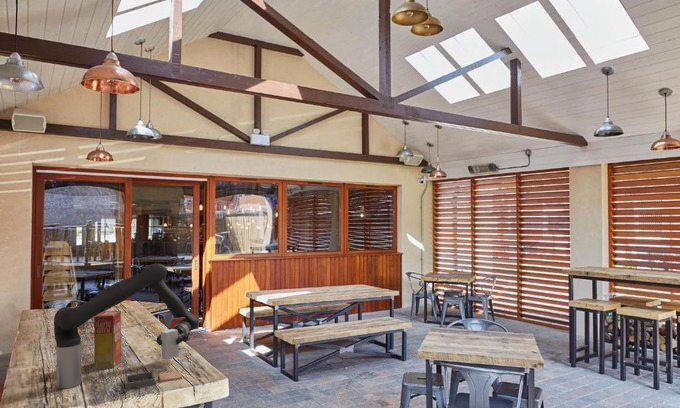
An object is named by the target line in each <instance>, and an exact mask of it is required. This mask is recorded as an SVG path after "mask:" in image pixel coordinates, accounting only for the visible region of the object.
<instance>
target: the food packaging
mask: <svg viewBox="0 0 680 408" xmlns="http://www.w3.org/2000/svg"><path fill="white" fill-rule="evenodd" d="M93 318H94V319H93V320H94V321H93V322H94V323H93V327H94V330H93V332H94V333H93V334H94V336H93V337H94V343H93V344H94V346H93V347H94V354H93V355H94V359H93V360H94V366H93V367H94V368H93V370H105V369H114V368H115V367H116V366H117V365H118V364H119V363H120V362H121V361H122V310H109V311H107V310H106V311H104V312H102V313H100V314H98V315H96V316H94V317H93Z"/></svg>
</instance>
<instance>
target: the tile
mask: <svg viewBox="0 0 680 408" xmlns="http://www.w3.org/2000/svg"><path fill="white" fill-rule="evenodd" d="M158 375H159V377H158V378H159V382H160V383H163V382H169V381H176V380H181V379H183V376H182V372H181V370H178V371H172V372H163V373H159V374H158Z"/></svg>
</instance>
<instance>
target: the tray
mask: <svg viewBox="0 0 680 408" xmlns="http://www.w3.org/2000/svg"><path fill="white" fill-rule="evenodd" d="M145 378H150V379H145ZM140 379H145V380H140ZM155 379H156V377H155V372H154V371H146V372H142V373H141V372H140V373H134V374H133V373H132V374H127V375H125V380H124V389H130V388H131V389H132V388H138V387H144V386H145V387H146V386H150V385H151V384H152V385H156V381H155ZM131 380H132V382H128V381H131ZM133 380H138V381H133Z"/></svg>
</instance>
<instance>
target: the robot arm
mask: <svg viewBox="0 0 680 408" xmlns="http://www.w3.org/2000/svg"><path fill="white" fill-rule="evenodd" d="M167 270H168V269H167V267H166V266H165V265H163V264H161V263H152V264H150V265H146V267H144V269H143V271H141V272H140V273H138V274H135V275H134V276H131V277H127V278H124V279H123V280H120V281H117V282H115V283H113V284H111V285H109V286H107V287H106V288H104V289H102V290H101V291H99V292H98V293H97V294H96V295H95V296H93V298H91V299H90V300H88V301H86V302H85V303H82V304H80V305H78V306H75V307H71V306H63V307H61V308H59V309H58V310H57V311H56V313H55V314H54V318H53V331H54V340H55V343H56V344H55V345H56V348H55V349H56V365H55V389H56V390H57V389H71V388H75V387H77V386H79V385H81V384H82V379H83V378H82V376H83V375H82V341H81V340H82V338H81V336H80V333H79V330H78V328H79V327H80V326H82V325H84V324H85V323H87V322H88V321H90V320H91V319H93V318H94V317H95V316H97V315H99V314H100V313H102V312H104V311H107V310H109V309H111V308H113V307H115V306H117V305H120V304H121V303H123V302H124V301H127V300H128V299H129V298H131V297H132V296H135V295H136V294H138V293H140V291H142V290H143V289H145V288H147V287H150V288H152V289H153V290H154V292H155V293H156V294H157V295H158V296H159V298H160V299H161V300H162V301H163V303H164V304H165V306H166V308H168V311H169V312H170V313H171V315H172V316H173V317H174V319H179V318H183V319H181V320H180V321H178V322H176V325H174V326H173V327H172V328H171V329H175V330H178V339H177V340H176V345H178V346H179V344H181V343H183V342H184V343H187V342H188V341H189V340H190V339H191V332H192V331H193V330H195V329H196V328H198V327H199V326H200V325H199V324H200V321H199V319H198V317H197V316H196V315H194V314H193V313H192V312H191V311H190V310H188V309H187V307H186V306H185V304H184V302H182V300H181V299H180V297H179V296H178V295H177V294H176V293H175V292H174V291H173V290H172V289H171V288H169V286H168V285H167V284H166V283H165V281H164V279H165V278H166V277H167V274H168V271H167ZM156 344H157V345H158V346H162V344H161V333H160V334H159V335H158V336H157V337H156Z"/></svg>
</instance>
